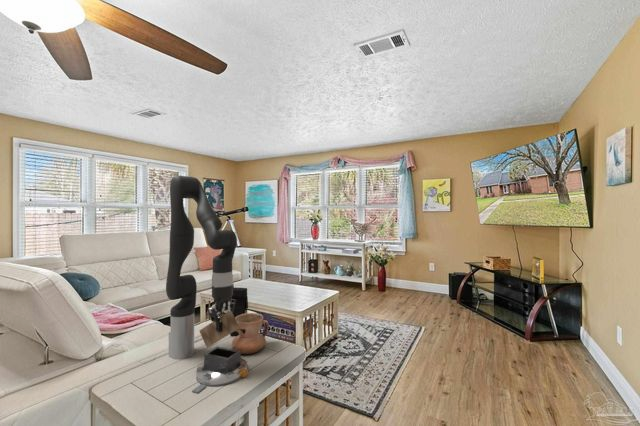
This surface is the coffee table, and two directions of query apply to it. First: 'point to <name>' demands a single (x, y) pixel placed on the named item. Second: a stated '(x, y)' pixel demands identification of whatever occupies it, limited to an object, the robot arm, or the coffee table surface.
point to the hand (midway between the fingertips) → (222, 329)
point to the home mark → (199, 388)
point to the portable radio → (239, 304)
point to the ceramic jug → (250, 333)
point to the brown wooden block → (213, 336)
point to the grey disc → (221, 367)
